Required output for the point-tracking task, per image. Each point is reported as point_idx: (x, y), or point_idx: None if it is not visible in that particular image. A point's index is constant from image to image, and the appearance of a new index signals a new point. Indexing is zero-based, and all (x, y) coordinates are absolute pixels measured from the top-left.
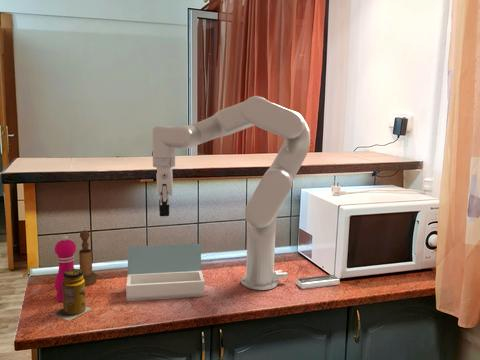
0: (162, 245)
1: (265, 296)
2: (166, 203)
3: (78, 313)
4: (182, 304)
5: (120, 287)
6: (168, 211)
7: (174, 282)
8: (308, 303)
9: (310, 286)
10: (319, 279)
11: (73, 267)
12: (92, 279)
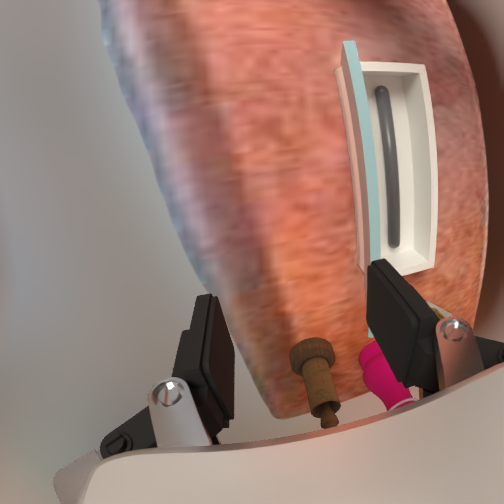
0: (379, 220)
1: None
2: (476, 340)
3: (439, 312)
4: (438, 126)
5: (346, 282)
6: (399, 281)
7: (433, 148)
8: None
9: None
10: None
11: (397, 387)
12: (327, 347)
